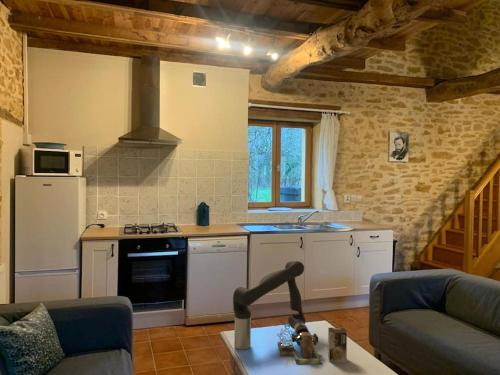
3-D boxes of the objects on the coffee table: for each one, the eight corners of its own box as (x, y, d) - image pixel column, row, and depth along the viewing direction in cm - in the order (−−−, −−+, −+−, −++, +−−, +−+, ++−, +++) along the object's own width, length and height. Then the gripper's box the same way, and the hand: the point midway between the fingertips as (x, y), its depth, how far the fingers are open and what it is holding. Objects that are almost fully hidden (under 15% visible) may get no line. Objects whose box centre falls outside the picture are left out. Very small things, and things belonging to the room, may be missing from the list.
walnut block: (302, 359, 195) (303, 335, 195) (301, 355, 200) (301, 332, 199) (311, 359, 195) (311, 335, 195) (309, 355, 200) (309, 332, 200)
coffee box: (344, 357, 198) (345, 327, 198) (346, 363, 192) (347, 332, 192) (327, 356, 199) (328, 327, 199) (329, 362, 193) (329, 331, 193)
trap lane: (282, 364, 190) (283, 360, 190) (277, 343, 214) (277, 340, 214) (321, 363, 191) (321, 359, 191) (311, 343, 215) (311, 340, 215)
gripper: (289, 324, 211) (294, 336, 195) (314, 324, 212) (320, 336, 195) (289, 337, 211) (293, 350, 195) (313, 337, 212) (320, 350, 196)
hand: (307, 343), depth 195 cm, fingers open, 8 cm apart
